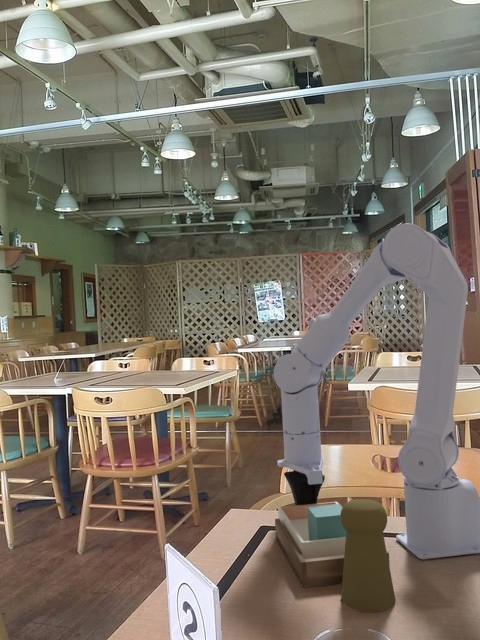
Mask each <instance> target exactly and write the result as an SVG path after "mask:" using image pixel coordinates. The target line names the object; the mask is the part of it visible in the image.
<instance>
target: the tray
mask: <svg viewBox="0 0 480 640" xmlns="http://www.w3.org/2000/svg"><path fill="white" fill-rule="evenodd" d="M332 504H340V503H339V502H338V501H328V502H327V501H326V502H318V503H315V504H305V505H295V504H294V505H287V506H285V505H284V506H278V507H277V512H278V519H280V521H281V523H282V524H283V526H284V527H285V529H286V531H287V532H288V534H289V535H290V537H291V539H292V540H293V542H294V543H295V545H296V547H297V548H298V550H299V551H300V553H301V554H302V556H303V558H304V559H313V558H322V557H331V556H340V555H344V554H345V541H346V537H340V538H331V539H321V540H312V541H309V532H308V513H307V507H311V506H322V505H332Z"/></svg>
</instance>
